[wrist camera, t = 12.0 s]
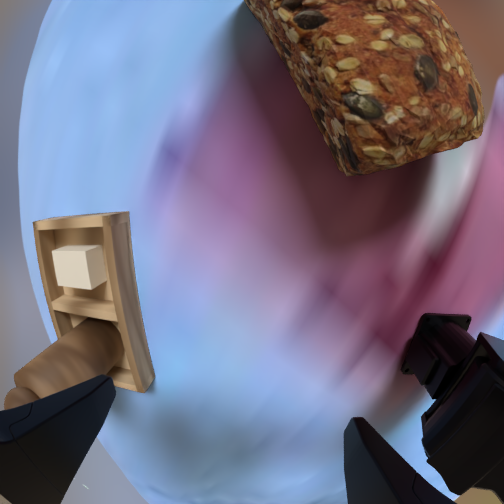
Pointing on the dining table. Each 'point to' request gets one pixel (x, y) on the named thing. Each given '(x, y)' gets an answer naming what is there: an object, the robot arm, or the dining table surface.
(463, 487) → the robot arm
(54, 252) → the block
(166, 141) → the dining table surface
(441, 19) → the bread
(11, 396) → the pepper mill
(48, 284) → the caddy
